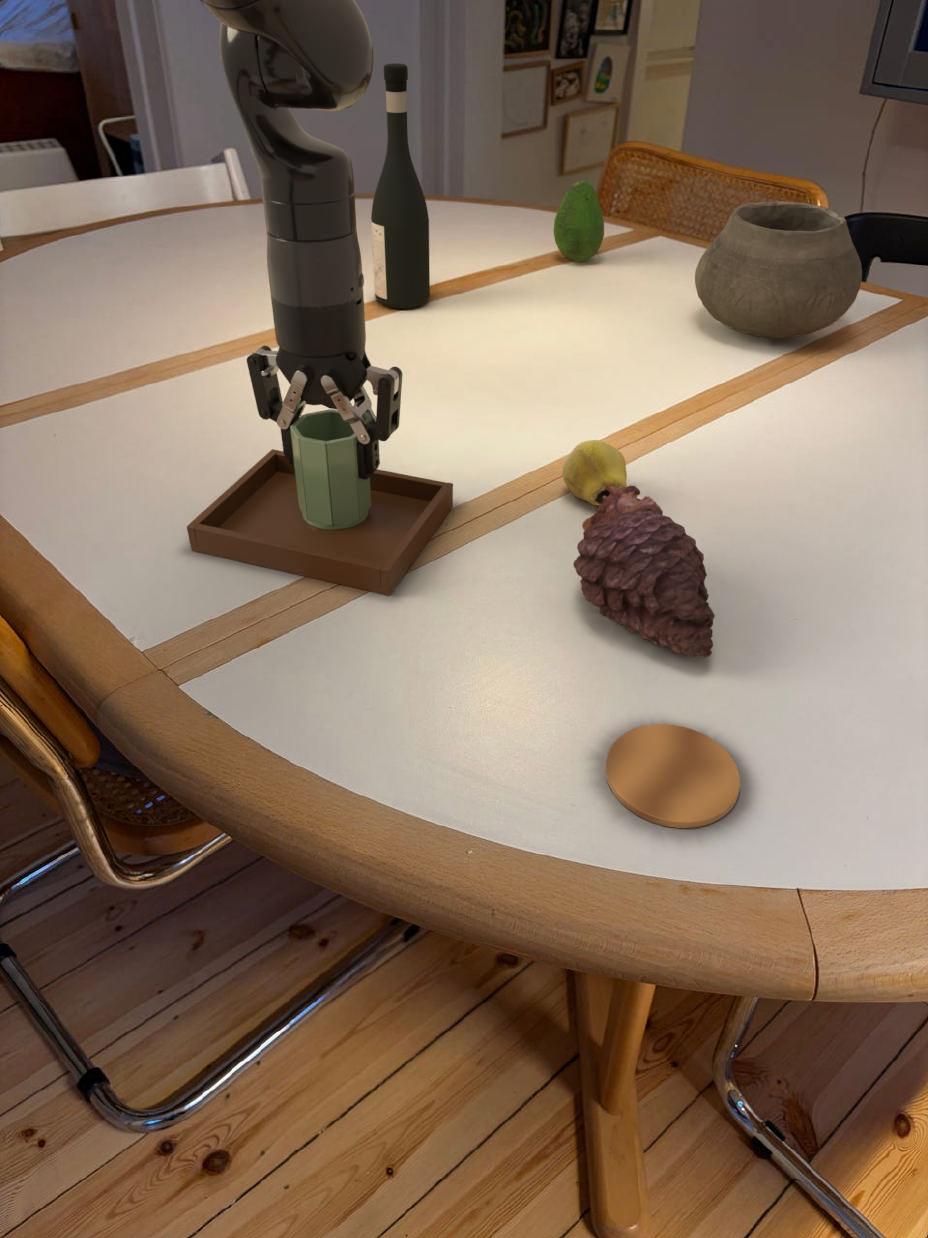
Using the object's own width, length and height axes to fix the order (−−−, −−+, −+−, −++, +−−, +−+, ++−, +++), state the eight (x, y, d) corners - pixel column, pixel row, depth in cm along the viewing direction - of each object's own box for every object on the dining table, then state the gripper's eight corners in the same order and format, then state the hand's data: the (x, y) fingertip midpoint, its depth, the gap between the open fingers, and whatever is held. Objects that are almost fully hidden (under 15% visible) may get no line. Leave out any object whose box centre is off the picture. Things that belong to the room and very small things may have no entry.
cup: (289, 522, 88) (279, 435, 82) (320, 489, 92) (312, 405, 87) (352, 535, 86) (345, 447, 80) (380, 501, 91) (375, 416, 85)
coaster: (591, 806, 62) (592, 800, 61) (620, 717, 68) (621, 711, 68) (730, 844, 59) (731, 838, 59) (745, 748, 66) (747, 742, 66)
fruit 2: (595, 533, 88) (541, 473, 94) (641, 532, 91) (586, 474, 97) (621, 482, 84) (564, 423, 90) (668, 483, 88) (609, 426, 94)
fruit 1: (578, 250, 156) (585, 172, 149) (610, 262, 151) (619, 183, 144) (542, 258, 153) (547, 179, 145) (573, 271, 148) (580, 190, 140)
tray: (191, 550, 85) (186, 526, 83) (275, 471, 96) (272, 448, 95) (389, 595, 80) (388, 570, 78) (453, 506, 91) (453, 483, 90)
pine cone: (762, 649, 74) (750, 596, 66) (654, 712, 76) (629, 668, 67) (652, 496, 84) (629, 433, 75) (557, 555, 85) (524, 498, 76)
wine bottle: (371, 310, 133) (359, 68, 115) (378, 291, 139) (368, 59, 121) (427, 311, 133) (424, 69, 114) (432, 293, 139) (430, 60, 121)
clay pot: (830, 370, 118) (863, 248, 109) (668, 339, 126) (685, 223, 117) (858, 316, 134) (888, 205, 124) (711, 291, 141) (730, 185, 132)
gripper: (214, 290, 75) (243, 473, 85) (379, 313, 71) (387, 502, 82) (261, 262, 81) (282, 438, 91) (416, 283, 77) (419, 463, 87)
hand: (332, 467), depth 86 cm, fingers closed on cup, 6 cm apart
